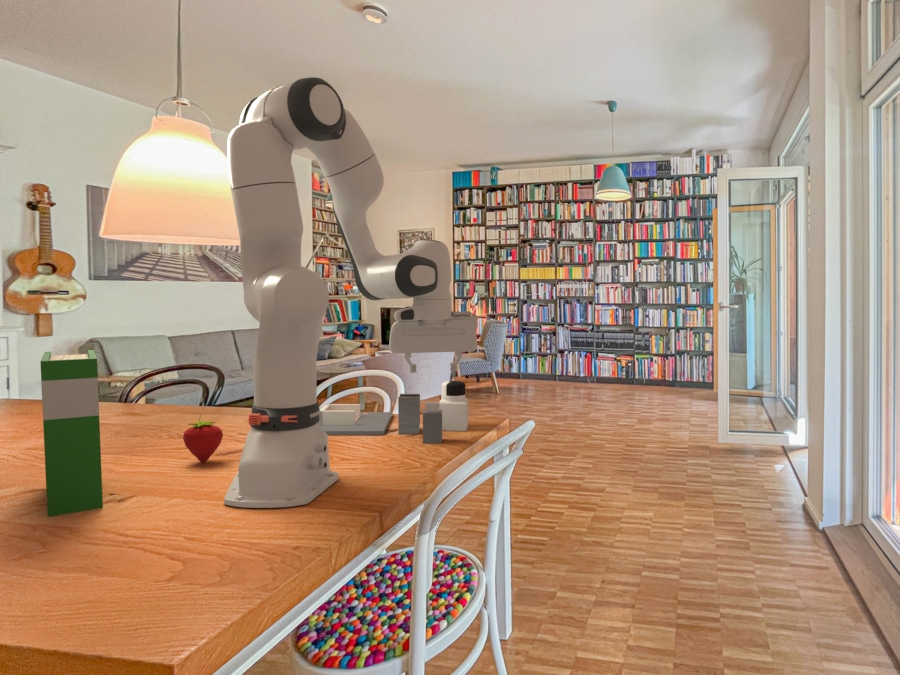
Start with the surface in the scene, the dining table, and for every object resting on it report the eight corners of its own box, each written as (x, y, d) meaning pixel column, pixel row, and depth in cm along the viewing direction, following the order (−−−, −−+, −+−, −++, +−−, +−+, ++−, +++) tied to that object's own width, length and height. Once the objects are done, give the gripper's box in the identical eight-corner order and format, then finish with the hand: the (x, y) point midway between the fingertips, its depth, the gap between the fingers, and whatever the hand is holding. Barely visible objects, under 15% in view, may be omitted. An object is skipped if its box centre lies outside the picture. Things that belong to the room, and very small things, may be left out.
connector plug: (442, 443, 141) (442, 404, 141) (422, 443, 141) (422, 404, 141) (442, 439, 146) (442, 401, 145) (423, 439, 146) (423, 401, 145)
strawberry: (223, 464, 124) (222, 415, 123) (182, 467, 121) (180, 417, 121) (223, 457, 129) (222, 409, 129) (184, 460, 127) (183, 412, 126)
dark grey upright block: (418, 434, 150) (418, 397, 150) (398, 434, 150) (398, 397, 150) (420, 428, 156) (419, 393, 156) (400, 428, 156) (400, 393, 156)
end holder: (383, 435, 149) (383, 416, 149) (284, 435, 149) (284, 416, 149) (392, 415, 173) (392, 399, 173) (306, 415, 173) (306, 399, 173)
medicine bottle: (468, 425, 161) (468, 379, 160) (466, 431, 154) (466, 383, 153) (441, 424, 161) (441, 379, 160) (438, 430, 154) (437, 383, 153)
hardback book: (50, 486, 110) (44, 351, 108) (98, 479, 114) (93, 349, 112) (47, 516, 95) (40, 361, 93) (102, 508, 99) (97, 358, 97)
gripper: (475, 310, 146) (476, 368, 147) (388, 312, 144) (389, 371, 145) (479, 311, 139) (480, 372, 140) (388, 313, 137) (389, 374, 138)
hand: (433, 371), depth 143 cm, fingers open, 8 cm apart
